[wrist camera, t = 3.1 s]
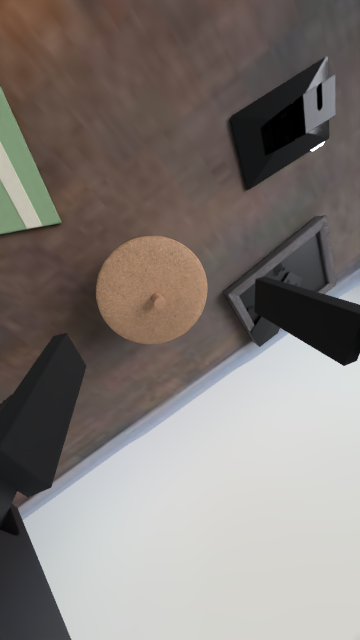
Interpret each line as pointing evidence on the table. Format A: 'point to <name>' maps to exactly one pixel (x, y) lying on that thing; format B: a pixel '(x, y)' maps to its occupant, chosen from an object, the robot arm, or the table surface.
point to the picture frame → (286, 275)
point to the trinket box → (151, 289)
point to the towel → (20, 180)
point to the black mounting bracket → (284, 123)
